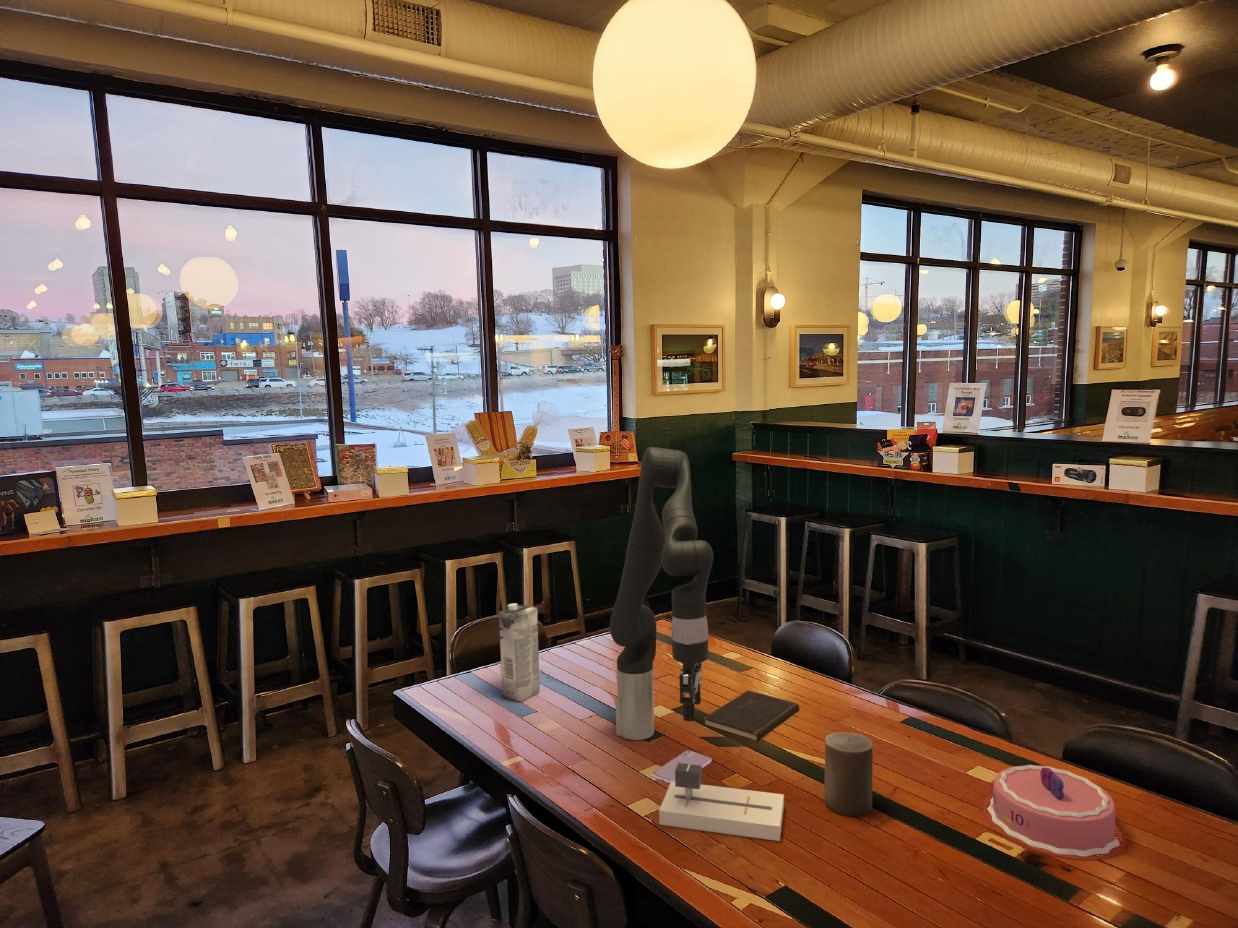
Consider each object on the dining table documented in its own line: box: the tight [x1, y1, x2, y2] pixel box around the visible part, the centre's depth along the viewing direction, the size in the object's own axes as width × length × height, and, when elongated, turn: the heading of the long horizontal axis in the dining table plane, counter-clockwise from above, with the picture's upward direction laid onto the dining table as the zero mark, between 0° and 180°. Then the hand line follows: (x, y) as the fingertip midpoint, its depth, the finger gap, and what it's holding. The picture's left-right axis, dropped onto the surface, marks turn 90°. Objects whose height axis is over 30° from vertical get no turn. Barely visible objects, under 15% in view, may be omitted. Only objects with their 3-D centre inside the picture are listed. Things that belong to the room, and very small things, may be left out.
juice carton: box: [497, 602, 541, 703], centre depth 220 cm, size 9×10×27 cm
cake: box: [981, 764, 1127, 862], centre depth 151 cm, size 25×25×11 cm
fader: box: [675, 763, 703, 799], centre depth 157 cm, size 5×3×6 cm, turn 74°
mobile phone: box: [651, 750, 713, 784], centre depth 177 cm, size 8×1×15 cm
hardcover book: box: [703, 689, 800, 742], centre depth 203 cm, size 16×23×2 cm
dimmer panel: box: [658, 781, 785, 842], centre depth 156 cm, size 24×12×3 cm, turn 74°
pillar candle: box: [824, 731, 874, 817], centre depth 159 cm, size 10×10×15 cm
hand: (692, 711), depth 158 cm, fingers open, 8 cm apart
